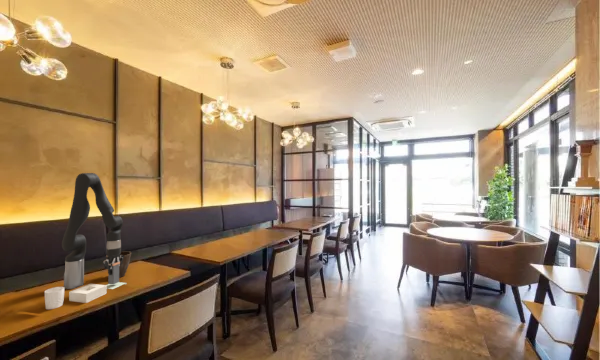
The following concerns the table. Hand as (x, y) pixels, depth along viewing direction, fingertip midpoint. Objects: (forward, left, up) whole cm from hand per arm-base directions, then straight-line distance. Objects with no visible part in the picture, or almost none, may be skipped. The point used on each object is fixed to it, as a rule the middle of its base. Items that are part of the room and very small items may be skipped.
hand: (113, 273), depth 166 cm
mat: (0, 0, -9) cm, 9 cm away
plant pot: (-13, +16, -9) cm, 23 cm away
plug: (0, 0, -6) cm, 6 cm away
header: (+1, -17, -9) cm, 19 cm away
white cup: (-6, -29, -9) cm, 31 cm away
